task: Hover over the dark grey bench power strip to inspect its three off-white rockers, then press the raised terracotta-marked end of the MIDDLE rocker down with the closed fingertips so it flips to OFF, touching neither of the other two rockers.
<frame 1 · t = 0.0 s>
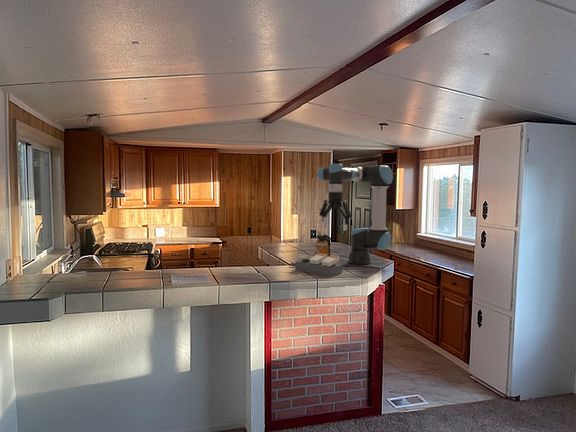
hand: (334, 229, 251), 28 cm above the counter, fingers open, 13 cm apart
rocker 2: (318, 258, 270), point 8 cm above the counter, hinge at 14.0°
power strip: (318, 271, 271), on the counter
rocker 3: (330, 260, 264), point 8 cm above the counter, hinge at 14.0°
canister: (322, 265, 289), on the counter
rocker 1: (306, 256, 276), point 8 cm above the counter, hinge at -14.0°
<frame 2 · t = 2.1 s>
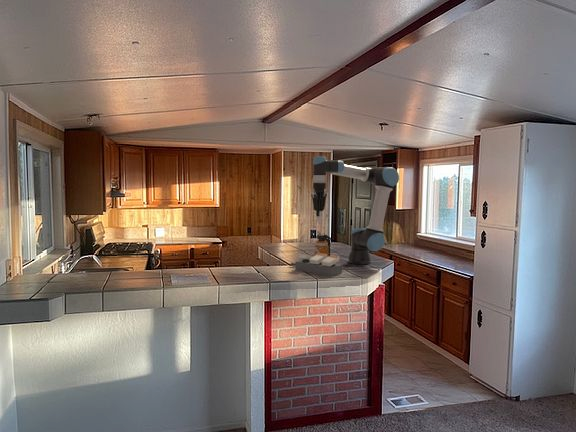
hand: (318, 221, 268), 30 cm above the counter, fingers closed
nothing on the counter moved.
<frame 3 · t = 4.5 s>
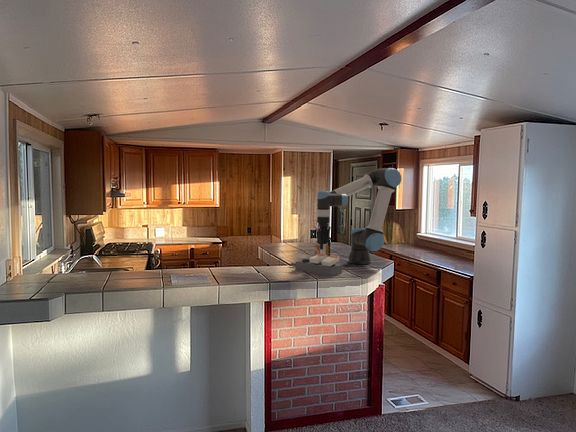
hand: (322, 254, 273), 10 cm above the counter, fingers closed, pressing on rocker 2
rocker 2: (318, 258, 270), point 8 cm above the counter, hinge at 7.0°, touching gripper
everything else where it was.
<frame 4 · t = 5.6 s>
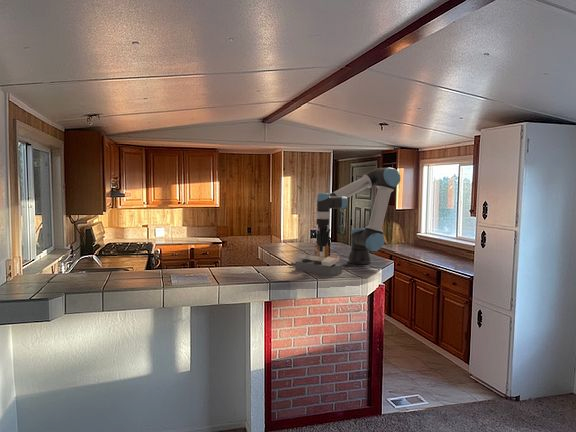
hand: (322, 256, 273), 9 cm above the counter, fingers closed
rocker 2: (318, 258, 270), point 8 cm above the counter, hinge at -14.1°, touching gripper
everything else where it was.
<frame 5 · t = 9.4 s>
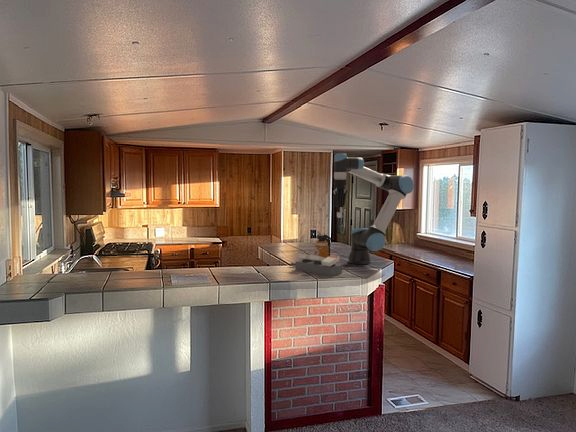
hand: (339, 217, 273), 32 cm above the counter, fingers closed
rocker 2: (318, 258, 270), point 8 cm above the counter, hinge at -17.5°
everything else where it was.
at the end: rocker 2 at -18° (first picture: +14°); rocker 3 at +14° (first picture: +14°); rocker 1 at -14° (first picture: -14°) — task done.
